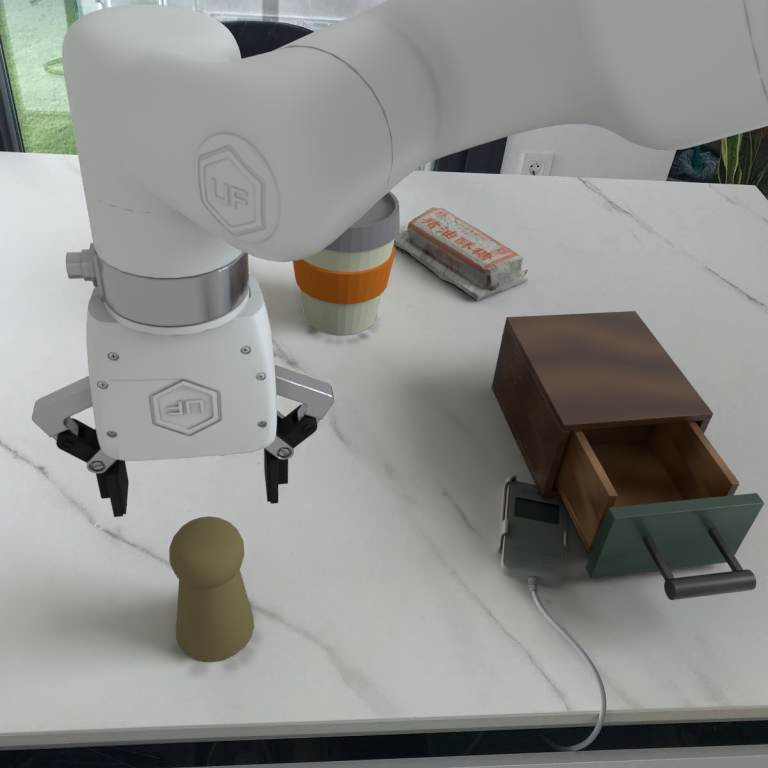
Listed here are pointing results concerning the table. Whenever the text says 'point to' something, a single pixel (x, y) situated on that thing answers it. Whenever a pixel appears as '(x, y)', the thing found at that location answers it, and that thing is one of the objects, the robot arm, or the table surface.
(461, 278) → the packaged product
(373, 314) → the reusable coffee cup
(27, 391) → the table surface
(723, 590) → the drawer
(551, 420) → the cabinet
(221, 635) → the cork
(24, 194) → the table surface
